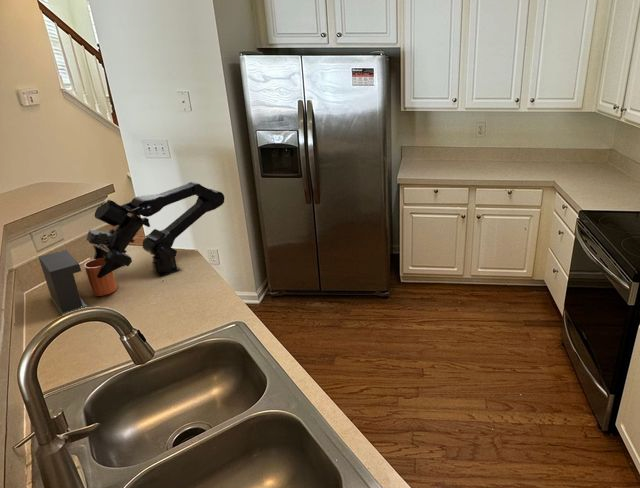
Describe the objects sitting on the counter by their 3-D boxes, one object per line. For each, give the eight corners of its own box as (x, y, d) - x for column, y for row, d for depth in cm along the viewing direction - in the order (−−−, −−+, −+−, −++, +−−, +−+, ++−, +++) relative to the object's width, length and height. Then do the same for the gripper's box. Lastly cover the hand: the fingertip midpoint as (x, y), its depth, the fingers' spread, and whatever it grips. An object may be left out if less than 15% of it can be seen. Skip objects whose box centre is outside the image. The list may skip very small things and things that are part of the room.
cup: (113, 282, 144) (105, 256, 140) (120, 289, 140) (113, 262, 136) (89, 290, 139) (81, 263, 135) (96, 298, 135) (87, 270, 131)
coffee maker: (78, 291, 140) (66, 249, 135) (91, 307, 132) (79, 263, 126) (51, 299, 135) (38, 256, 130) (63, 316, 127) (49, 272, 121)
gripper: (92, 212, 139) (60, 254, 136) (111, 228, 128) (76, 274, 124) (124, 228, 148) (95, 267, 144) (145, 244, 136) (114, 287, 133)
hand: (94, 273), depth 136 cm, fingers closed on cup, 7 cm apart
